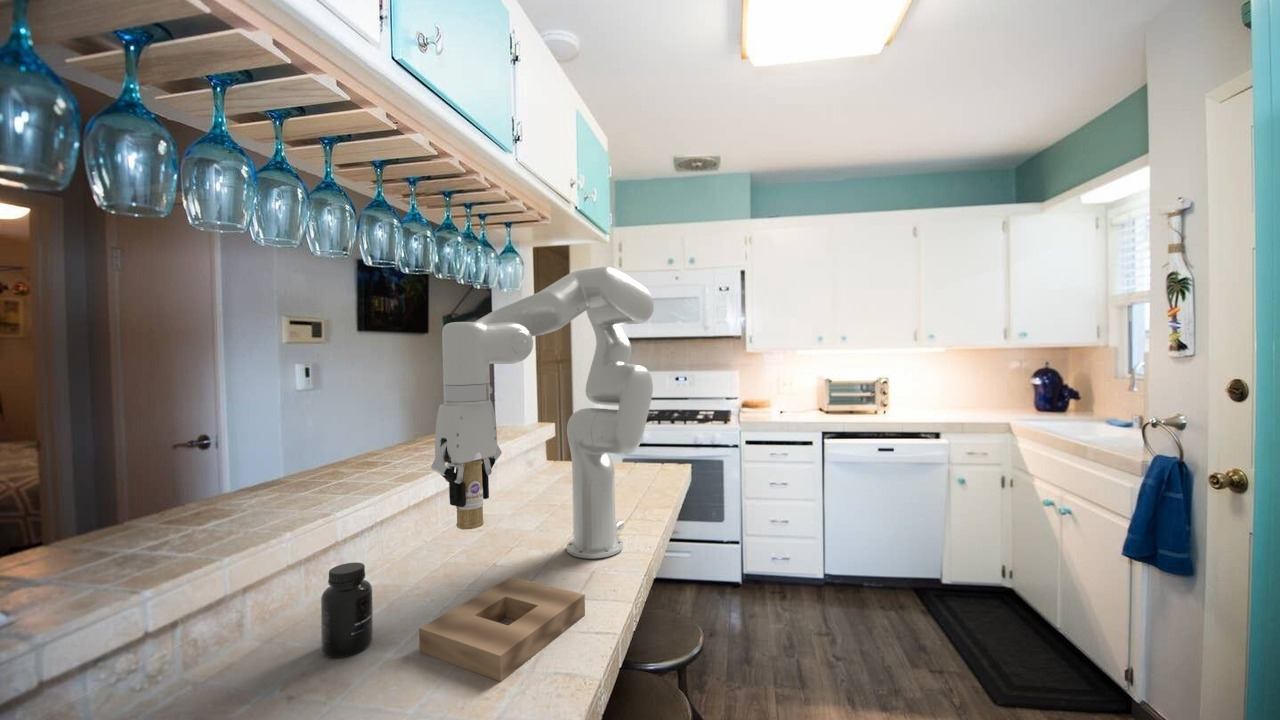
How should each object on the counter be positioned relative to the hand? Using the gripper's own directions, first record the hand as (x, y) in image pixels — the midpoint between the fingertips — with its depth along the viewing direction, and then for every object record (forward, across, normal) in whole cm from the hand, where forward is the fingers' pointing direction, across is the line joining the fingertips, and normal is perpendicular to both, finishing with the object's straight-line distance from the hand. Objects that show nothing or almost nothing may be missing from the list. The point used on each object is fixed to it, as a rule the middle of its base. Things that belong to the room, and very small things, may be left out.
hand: (469, 500), depth 89 cm
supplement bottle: (+19, +16, -8) cm, 27 cm away
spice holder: (+19, +2, +10) cm, 22 cm away
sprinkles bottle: (+5, 0, 0) cm, 5 cm away
